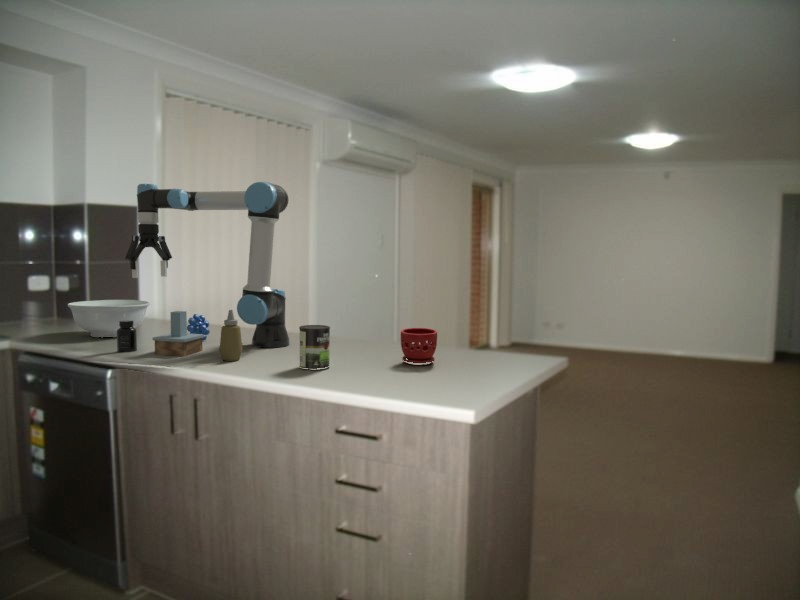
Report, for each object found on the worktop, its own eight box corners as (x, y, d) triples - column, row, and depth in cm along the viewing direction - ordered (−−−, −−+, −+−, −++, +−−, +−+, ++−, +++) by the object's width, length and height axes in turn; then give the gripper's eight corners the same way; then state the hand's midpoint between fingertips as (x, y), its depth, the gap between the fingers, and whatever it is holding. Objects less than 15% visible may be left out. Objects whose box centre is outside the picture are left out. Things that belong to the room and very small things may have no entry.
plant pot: (394, 361, 224) (394, 328, 223) (426, 359, 229) (427, 327, 228) (409, 368, 212) (409, 333, 211) (443, 365, 217) (443, 332, 216)
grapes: (195, 345, 250) (194, 315, 249) (183, 343, 254) (183, 314, 253) (216, 341, 260) (216, 313, 259) (205, 339, 264) (204, 311, 263)
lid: (204, 336, 233) (203, 310, 232) (184, 342, 221) (183, 314, 220) (173, 335, 236) (173, 309, 235) (152, 340, 224) (152, 312, 223)
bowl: (124, 328, 293) (124, 297, 292) (165, 335, 275) (164, 302, 273) (54, 335, 267) (53, 302, 266) (93, 344, 249) (92, 307, 247)
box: (202, 352, 233) (202, 337, 233) (184, 358, 222) (183, 341, 221) (174, 350, 236) (174, 335, 236) (154, 356, 225) (154, 340, 224)
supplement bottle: (141, 352, 233) (140, 320, 231) (126, 355, 226) (125, 322, 225) (128, 350, 235) (127, 319, 234) (112, 353, 229) (112, 321, 228)
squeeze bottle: (221, 362, 215) (221, 311, 214) (217, 358, 222) (216, 309, 221) (245, 361, 219) (244, 310, 217) (239, 357, 226) (239, 308, 224)
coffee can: (335, 367, 212) (336, 326, 210) (316, 372, 203) (316, 329, 201) (312, 363, 217) (312, 323, 216) (292, 368, 208) (292, 326, 207)
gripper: (167, 224, 257) (168, 275, 259) (114, 222, 235) (116, 278, 237) (180, 224, 253) (181, 276, 255) (127, 222, 232) (129, 279, 234)
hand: (150, 277), depth 246 cm, fingers open, 13 cm apart
